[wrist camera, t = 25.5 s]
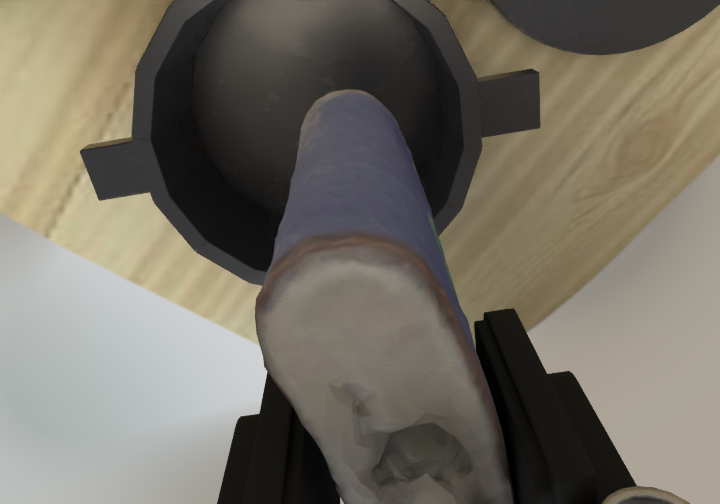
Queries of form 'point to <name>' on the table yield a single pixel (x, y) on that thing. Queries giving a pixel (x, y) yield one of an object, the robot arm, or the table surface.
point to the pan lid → (603, 22)
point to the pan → (294, 111)
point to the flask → (376, 322)
